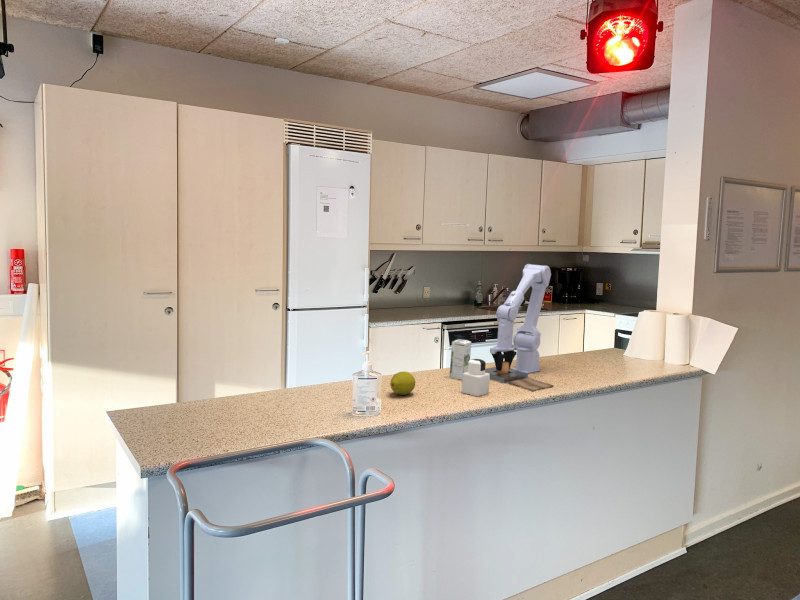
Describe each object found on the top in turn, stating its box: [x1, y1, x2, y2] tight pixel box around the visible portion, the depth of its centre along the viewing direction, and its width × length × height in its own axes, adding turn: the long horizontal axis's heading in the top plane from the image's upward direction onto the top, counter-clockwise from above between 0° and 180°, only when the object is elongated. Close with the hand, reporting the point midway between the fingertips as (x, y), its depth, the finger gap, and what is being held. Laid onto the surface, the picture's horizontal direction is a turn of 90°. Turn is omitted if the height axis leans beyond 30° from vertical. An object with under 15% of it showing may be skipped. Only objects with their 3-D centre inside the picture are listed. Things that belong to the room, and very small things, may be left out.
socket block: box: [484, 366, 529, 384], centre depth 240 cm, size 14×14×2 cm
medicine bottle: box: [461, 358, 491, 397], centre depth 216 cm, size 7×7×12 cm
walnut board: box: [507, 377, 555, 392], centre depth 230 cm, size 12×12×1 cm
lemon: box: [389, 371, 416, 396], centre depth 210 cm, size 11×8×8 cm
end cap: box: [497, 360, 509, 374], centre depth 240 cm, size 4×4×6 cm
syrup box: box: [449, 339, 472, 381], centre depth 236 cm, size 6×6×14 cm
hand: (502, 369), depth 240 cm, fingers closed on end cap, 4 cm apart
